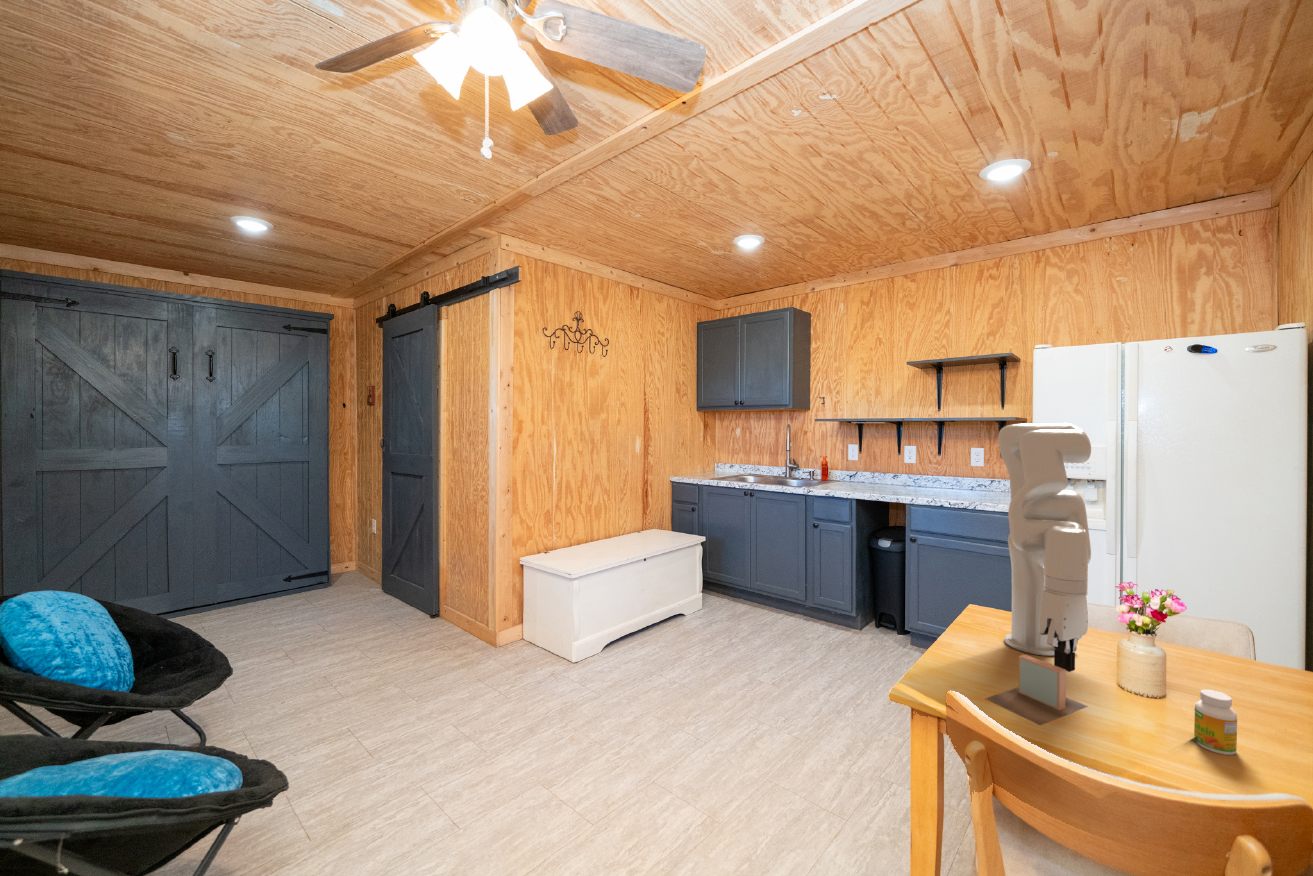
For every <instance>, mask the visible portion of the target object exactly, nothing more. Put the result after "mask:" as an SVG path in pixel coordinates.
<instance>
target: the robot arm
mask: <svg viewBox="0 0 1313 876" xmlns="http://www.w3.org/2000/svg"><path fill="white" fill-rule="evenodd" d="M997 438H998V439H997V441H998V449H999V454H1000V457H1001V459H1002V461H1003V463H1004V465H1005V467H1006V470H1007V472H1008V478H1009V487H1010V489H1009V490H1010V503H1009V506H1008V513H1007V514H1008V523H1009V524H1008V525H1009V526H1008V527H1009V534H1008V537H1007V546H1008V551H1009V558H1010V564H1011V632H1010V633H1007V634H1005V636H1004V643H1005V644H1006V645H1008V646H1009V647H1011V648H1013V649H1015V650H1018V651H1020V652H1024V653H1028V654H1031V655H1036V656H1037V655H1038V656H1045V657H1047V656H1049V657H1051V656H1052V657H1053V659H1054V660H1053V665H1055V666H1057V667H1060V668H1063V669H1065V670H1066V672H1067V673H1070V672H1074V671H1075V670H1076V651H1077V646H1078V643H1079V641H1080V640H1081V639H1082V638H1083V636H1085V635H1086V634H1087V633H1088V629H1089V628H1088V626H1089V612H1088V611H1089V609H1088V600H1087V596H1088V595H1089V593H1088V592H1089V591H1088V588H1089V587H1088V584H1089V583H1088V582H1089V581H1088V579H1089V576H1088V575H1089V572H1088V571H1089V563H1090V562H1091V557H1092V550H1091V549H1092V547H1091V539H1090V532H1089V525H1088V514H1087V509H1086V504H1085V500H1084V499H1083V496H1081V495H1080V493H1078V492H1077V491H1074V490H1069V489H1066V488H1067V487H1068V485H1069V481H1068V477H1067V472H1066V467H1065V464H1084V463H1086V462H1087V461H1088V460H1090V458H1091V455H1092V446H1091V445H1092V444H1091V441H1090V438H1089V437H1088V435H1087V433H1086V432H1085V431H1084V430H1083V429H1082V428H1080V427H1078V426H1077V425H1074V424H1072V423H1067V422H1063V423H1059V422H1057V423H1055V422H1054V423H1051V422H1050V423H1049V422H1048V423H1046V422H1045V423H1039V422H1037V423H1029V422H1027V423H1014V424H1008V425H1006V426H1004V427H1002V428H1001V429H1000V430H999V432H998V437H997Z"/></svg>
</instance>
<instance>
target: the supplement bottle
mask: <svg viewBox="0 0 1313 876" xmlns="http://www.w3.org/2000/svg"><path fill="white" fill-rule="evenodd" d="M1199 697H1200V699H1199V700H1198V701H1196V702H1195V703H1194V728H1193V729H1194V730H1193V731H1194V732H1193V735H1194V737H1193V740H1194V742H1195V743H1196V744H1197V745H1198V746H1200V747H1201V748H1203V749H1206V750H1208V751H1210V752H1213V753H1216V754H1220V755H1225V756H1230V755H1235V754H1236V753H1237V747H1238V746H1237V745H1238V744H1237V743H1238V741H1237V740H1238V739H1237V738H1238V735H1237V734H1238V714H1237V712H1236V711H1235V710H1234V709H1233V708H1231V707H1232V705H1233V698H1232V697H1231V696H1230V695H1229V694H1226V693H1224V692H1221V691H1217V690H1213V689H1207V688H1206V689H1201V690H1200V694H1199Z"/></svg>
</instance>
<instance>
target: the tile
mask: <svg viewBox="0 0 1313 876" xmlns="http://www.w3.org/2000/svg"><path fill="white" fill-rule="evenodd" d="M1066 673H1067V671H1066V670H1065V669H1063V668H1060V667H1057V666H1055V665H1054V664H1052V663H1049V662H1046V661H1043V660H1041V659H1038V658H1035V657H1033V656H1030V655H1028V654H1022V655H1019V656H1018V687H1019V693H1021V694H1023V695H1026V696H1028V697H1030V698H1032V699H1035V700H1037V701H1039V702H1041V703H1044V704H1046V705H1048V706H1050V707H1053V708H1055V709H1057V710H1062V709H1065V697H1066V687H1067V686H1066V685H1067V684H1066V681H1067V680H1066V679H1067V677H1066V675H1067V674H1066Z"/></svg>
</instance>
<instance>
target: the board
mask: <svg viewBox="0 0 1313 876" xmlns="http://www.w3.org/2000/svg"><path fill="white" fill-rule="evenodd" d="M984 699H985V700H987V701H989V702H991V703H993V704H995V705H998V706H999V707H1000V708H1003V709H1005V710H1008V711H1010V712H1012V713H1014V714H1016V715H1019V716H1020V717H1022V718H1024V719H1027V720H1029V721H1031V722H1033V723H1035V724H1037V725H1038V726H1042V725H1044V724H1047V723H1050V722H1052V721H1055V720H1057V719H1060V718H1062V717H1065V716H1067V715H1070V714H1072V713H1074V712H1077V711H1080V710H1082V709H1084V708H1087V707H1088V705H1086V704H1084V703H1082V702H1078V701H1076V700H1074V699H1072V698H1069V697H1067V696H1065V709H1062V710H1057V709H1055V708H1053V707H1050V706H1048V705H1046V704H1044V703H1041V702H1039V701H1037V700H1035V699H1032V698H1030V697H1028V696H1026V695H1023V694H1021V693H1019V686H1018V687H1015V688H1012V689H1009V690H1006V691H1003V692H1000V693H997V694H995V695H991V696H988V697H986V698H984Z"/></svg>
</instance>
